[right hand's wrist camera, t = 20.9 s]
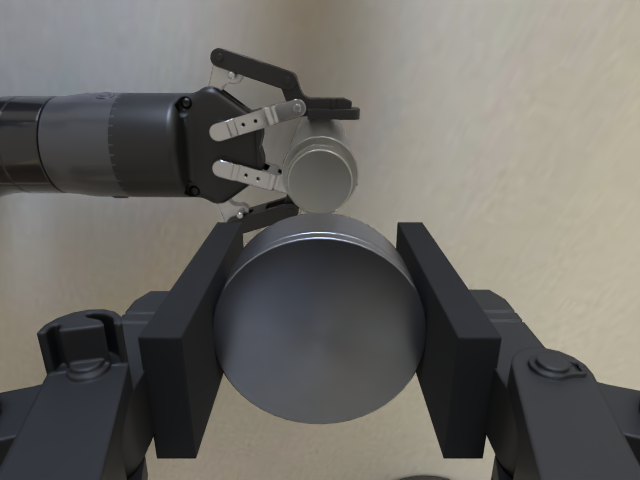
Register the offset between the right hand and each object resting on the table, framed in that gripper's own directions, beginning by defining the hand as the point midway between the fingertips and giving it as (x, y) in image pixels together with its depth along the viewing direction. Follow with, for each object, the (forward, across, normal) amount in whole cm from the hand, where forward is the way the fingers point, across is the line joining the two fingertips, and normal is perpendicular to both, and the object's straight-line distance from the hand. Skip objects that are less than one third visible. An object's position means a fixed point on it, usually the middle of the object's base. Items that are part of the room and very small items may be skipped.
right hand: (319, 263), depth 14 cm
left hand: (+21, -3, -1) cm, 21 cm away
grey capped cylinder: (+27, 0, -1) cm, 27 cm away
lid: (-4, 0, 0) cm, 4 cm away
